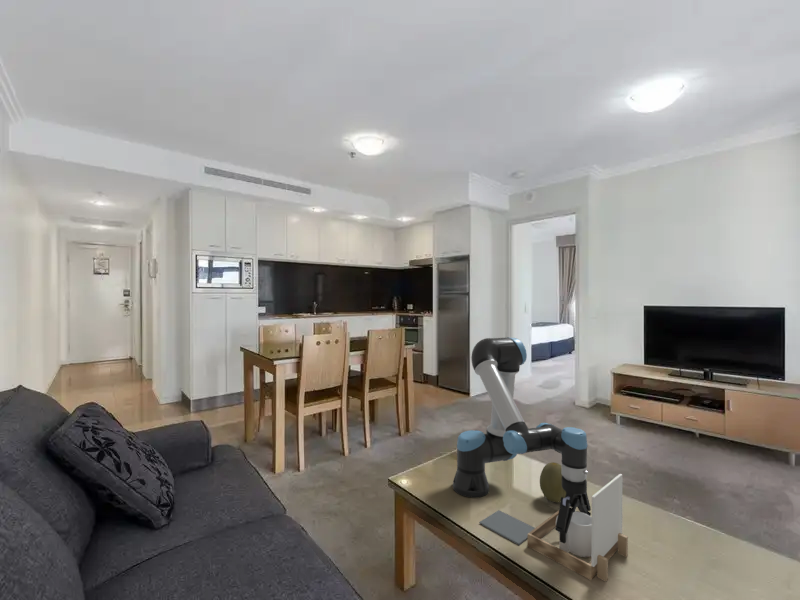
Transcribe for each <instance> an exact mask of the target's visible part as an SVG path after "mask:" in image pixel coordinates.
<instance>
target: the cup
mask: <svg viewBox="0 0 800 600" xmlns="http://www.w3.org/2000/svg"><path fill="white" fill-rule="evenodd" d="M557 518H558V516H557ZM557 518H556V523H557ZM567 532H569V553H570V554H571V555H573V556H575V557H578V558H579V557H580V558H591V540H592V515H590V516H589V515H587V514H585V513H583V512H580V511H579V510H578V511H577V510H575V512H573V514H572V518H571V521H570V524H569V528H568V531H567ZM557 533H558V534H559V531H557Z"/></svg>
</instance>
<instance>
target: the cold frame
mask: <svg viewBox="0 0 800 600" xmlns="http://www.w3.org/2000/svg"><path fill="white" fill-rule="evenodd" d="M558 513H559V510H557V511H555V513H554V514H552V515H550V516H548V518H547V519H546V520H544V521H543V522H542V523H540V524H538V525H537V526H536V527H534V528H535V529H533V530H532V531H531V532H530V533H528V539H527V540H526V541H527V547H528V548H530V549H532V550H534V551H535V552H538V553H539V554H541V555H543V556H545V557H547V558H548V559H550V560H553V561H554V562H556V563H557V564H560V565H561V566H563V567H565V568H568V570H571V571H573V572H575V573H576V574H578V575H581V576H582V577H584V578H586V579H588V580H590V581H592V580H593V579H594V577H595V576H596V575H597V564H596V565H595V567H593V566H591V561H590V563H588V562H587V561H585V560H583V559H581V558H579V557H578V556H576V555H574V554H572V553H570V552H569V553H567V552H565V551H563V550H561V549H559V547H557V546H556V545H554V544H551V543H550V542H547V541H546V540H544V539H542V538H544V537H545V536H546V535H548V533H550V532H551V531H552V530H553V529H554V528H556V518H557V516H558ZM616 552H618V541H617V542H616V543H615V545H614V546H613V547H612V548H611V549H610V550H609V551H608V552H607V553H606V554H605V556H604V557H605V558H607V559H608V561H609V560H610V559H611V558H612V557H613V556H614V554H615V553H616Z"/></svg>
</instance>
